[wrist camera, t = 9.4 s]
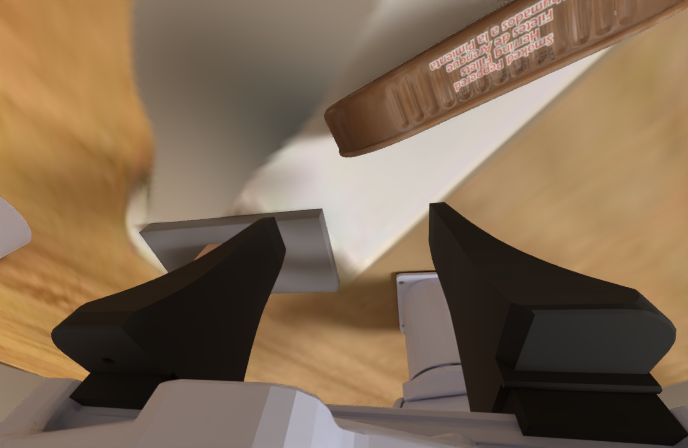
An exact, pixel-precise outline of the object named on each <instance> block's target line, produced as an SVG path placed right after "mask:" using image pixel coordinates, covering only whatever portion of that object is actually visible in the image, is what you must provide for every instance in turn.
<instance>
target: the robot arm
mask: <svg viewBox="0 0 688 448" xmlns="http://www.w3.org/2000/svg"><path fill="white" fill-rule="evenodd" d="M429 246H430V251H431V256H432V260H433V264H434V267H435V269H436V272H425V273H401V274H398V275H397V276H396V281H397V295H398V310H399V324H400V332H401V333H405V340H406V350H407V360H408V370H409V380H410V381H409V382H405V383H403V397H404V398H399V399H397V400H396V401H395V403H394V405H393V408H390V407H371V406H353V405H335V404H324V403H323V402H322V401H321V400H320V399H319V397H318V396H317V395H315V394H312V393H310V392H308V391H305V390H303V389H301V388H299V387H295V386H289V385H283V384H277V383H261V382H244V378H245V373H246V369H247V365H248V361H249V357H250V353H251V349H252V346H253V342H254V338H255V335H256V331H257V328H258V325H259V322H260V319H261V315H262V313H263V310H264V307H265V305H266V303H267V300H268V298H269V296H270V294H271V291H272V289H273V287H274V285H275V282H276V280H277V278H278V275H279V273H280V270H281V268H282V265H283V261H284V258H285V253H286V247H285V245H284V242H283V239H282V236H281V233H280V231H279V228H278V225H277V222H276V220H275V217H265V218H261V219H259V220H257V221H256V222H254V223H253V224H251V225H250V226H248V227H246V228H245V229H244V230H242V231H241V232H239V233H238V234H236V235H235V236H233V237H232V238H230V239H229V240H227V241H226V242H224V243H223V244H221V245H219V246H218V247H216V248H215V249H213V250H211V251H210V252H208V253H207V254H205V255H203V256H201V257H200V258H198V259H196V260H194V261H192V262H190V263H188V264H186V265H184V266H183V267H180V268H178V269H176V270H174V271H172V272H170V273H167V274H165V275H163V276H161V277H159V278H156V279H154V280H151V281H149V282H146V283H144V284H141V285H139V286H136V287H133V288H131V289H128V290H125V291H122V292H119V293H116V294H113V295H110V296H107V297H104V298H101V299H97V300H94V301H91V302H88V303H85V304H84V305H82V306H80V307H79V308H78V309H76V310H75V311H74V312H73V313H72V314H71V315H69V316H68V317H67V318H66V319H65V320H64V321H62V322H61V323H60V324H59V325H58V326H56V327H55V328H54V329H53V331H52V333H51V337H52V340H53V343H54V344H55V345H56V346H57V348H59V349H60V350H61V351H62V352H63V353H64V354H66V355H67V356H68V357H70V358H71V359H72V360H74V361H75V362H76V363H78V364H79V365H81V366H82V367H83V368H85V369H86V370H87V371H89V372H91V373H90V374H89V375H88V376H87V377H86V378H85V380H84V381H83V382H82V381H79V380H76V379H70V378H46V379H45V380H44V381H42V382H41V383H40V384H39V385H38V386H37V387H36V388H35V389H34V390H33V391H32V392H31V393H30V394H29V395H28V396H27V397H26V398H25V399H24V400H23V401H22V402H21V403H20V404H19V405H18V406H17V407H16V408H15V409H14V410H13V411H12V412H11V413H10V414H9V415H8V416H7V417H6V418H5V419H4V420H3V421H1V422H0V448H688V406H682V407H677V408H673V409H671V410H669V409H668V408H667V407H666V405H665V404H664V403H663V402H662V401H661V399H660V398H659V397H658V396H657V394H660V393H661V392H662V388H661V386H660V385H659V383H658V382H657V381H656V380H655V379H654V378H653V376H652V375H651V374H650V373H649V372H650V371H651V370H652V369H653V368H654V366H655V365H656V364H657V363H658V362H659V361H660V360H661V359H662V358H663V357H664V356H665V355H666V353H667V352H668V351H669V350H670V348H671V347H672V345H673V344H674V342H675V339H676V328H675V327H674V325H673V324H672V322H671V321H670V320H669V319H668V318H667V317H666V316H665V315H664V314H663V313H661V312H660V311H659V310H658V309H657V308H656V307H655V306H654V305H653V304H652V303H650V302H649V301H648V300H647V299H646V298H645V297H644V296H643V295H642V294H640V293H639V292H638V291H637V290H636V289H632V288H628V287H625V286H621V285H618V284H614V283H610V282H607V281H603V280H600V279H596V278H592V277H589V276H586V275H583V274H580V273H577V272H574V271H571V270H568V269H565V268H562V267H559V266H556V265H554V264H551V263H548V262H546V261H543V260H541V259H538V258H536V257H534V256H531V255H529V254H526V253H524V252H522V251H520V250H518V249H516V248H514V247H512V246H510V245H508V244H506V243H504V242H502V241H500V240H498V239H496V238H495V237H493V236H491V235H490V234H488V233H487V232H485V231H483V230H482V229H480V228H479V227H477V226H476V225H474V224H473V223H471V222H470V221H469V220H467V219H466V218H464V217H463V216H462V215H460V214H459V213H458V212H457V211H455V210H454V209H453V208H451V207H450V206H449V205H448V204H446V203H445V202H440V203H429ZM400 281H403V282H400Z"/></svg>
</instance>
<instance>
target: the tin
mask: <svg viewBox="0 0 688 448" xmlns="http://www.w3.org/2000/svg"><path fill="white" fill-rule="evenodd" d="M687 7H688V0H514V1H512V2H510V3H508V4H507V5H505V6H503V7H501V8H499V9H498V10H496V11H494V12H492V13H490V14H489V15H487V16H485V17H483V18H482V19H480V20H478V21H476V22H474V23H473V24H471V25H469V26H467V27H466V28H464V29H462V30H461V31H459V32H457V33H455V34H454V35H452V36H450V37H448V38H447V39H445V40H443V41H441V42H440V43H438V44H436V45H434V46H433V47H431V48H429V49H428V50H426V51H424V52H423V53H421V54H419V55H417V56H416V57H414V58H412V59H411V60H409V61H407V62H405V63H404V64H402V65H400V66H399V67H397V68H395V69H393V70H392V71H390V72H388V73H386V74H385V75H383V76H381V77H379V78H378V79H376V80H374V81H372V82H371V83H369V84H367V85H366V86H364V87H362V88H361V89H359V90H357V91H355V92H354V93H352V94H350V95H348V96H347V97H345V98H343V99H341V100H340V101H338V102H337V103H335V104H334V105H332V106H331V107H329V108H328V109H327V110H326V112H325V114H324V116H325V121H326V123H327V125H328V127H329V129H330V131H331V133H332V135H333V137H334V139H335V141H336V143H337V146H338V148H339V153H340V155H341V156H342V157H355V156H360V155H363V154H367V153H370V152H373V151H376V150H379V149H382V148H385V147H387V146H390V145H393V144H395V143H397V142H400V141H402V140H404V139H407V138H409V137H411V136H414V135H416V134H418V133H420V132H422V131H425V130H427V129H429V128H431V127H434V126H436V125H438V124H440V123H442V122H444V121H447V120H449V119H451V118H453V117H455V116H458V115H460V114H462V113H464V112H466V111H469V110H471V109H473V108H475V107H477V106H479V105H481V104H484V103H486V102H488V101H490V100H492V99H495V98H497V97H499V96H501V95H503V94H506V93H508V92H510V91H512V90H514V89H517V88H519V87H521V86H523V85H526V84H528V83H530V82H532V81H534V80H536V79H538V78H541V77H543V76H545V75H547V74H549V73H552V72H554V71H557V70H559V69H561V68H563V67H565V66H567V65H570V64H572V63H574V62H576V61H578V60H580V59H583V58H585V57H587V56H589V55H592V54H594V53H596V52H598V51H600V50H603V49H605V48H608V47H610V46H612V45H614V44H616V43H618V42H621V41H623V40H625V39H627V38H629V37H631V36H634V35H636V34H638V33H640V32H642V31H644V30H646V29H648V28H650V27H653V26H654V25H656V24H658V23H660V22H662V21H664V20H666V19H668V18H669V17H671V16H673V15H675V14H677V13H678V12H680V11H682V10H684V9H686V8H687Z"/></svg>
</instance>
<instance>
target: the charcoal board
mask: <svg viewBox="0 0 688 448" xmlns="http://www.w3.org/2000/svg"><path fill="white" fill-rule="evenodd" d="M265 217H275V220H276V222H277V225H278V228H279V231H280V233H281V236H282V239H283V242H284V245H285V247H286V253H285V258H284V261H283V265H282V268H281V270H280V273H279V275H278V278H277V280H276V282H275V285H274V287H273V289H272V291H271V294H272V293H308V292H338V287H339V277H338V273H337V268H336V264H335V260H334V256H333V252H332V248H331V243H330V239H329V235H328V231H327V227H326V222H325V218H324V214H323V210H322V209H313V210H302V211H290V212H279V213H268V214H256V215H245V216H234V217H223V218H211V219H200V220H189V221H177V222H166V223H155V224H150V225H148V226H147V227H146V228H144V229H143V230H142V231H140V232H139V233H140V234H141V236H142V237H143V238H144V240H145V241H146V243H147V244H148V245H149V247H150V248H151V249H152V251H153V252H154V254H155V255H156V256H157V258H158V259H159V260H160V262H161V263H162V265H163V266H164V267H165V269H166V270H167V271H168V273H170V272H172V271H174V270H176V269H178V268H180V267H183V266H184V265H186V264H188V263H190V262H192V261H194V259H195V258H196V257H197V256H198V255H199V254H200V253H201V252H202V250H203V249H204V248H205V247H206V246H207V245H208V244H221V243H224V242H226V241H227V240H229V239H230V238H232V237H233V236H235V235H236V234H238V233H239V232H241V231H242V230H244V229H245V228H246V227H248V226H250V225H251V224H253V223H254V222H256V221H257V220H259V219H261V218H265Z"/></svg>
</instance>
